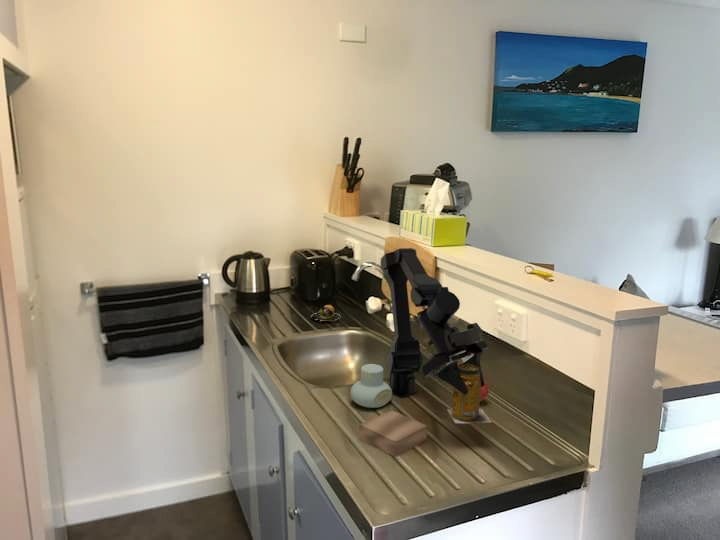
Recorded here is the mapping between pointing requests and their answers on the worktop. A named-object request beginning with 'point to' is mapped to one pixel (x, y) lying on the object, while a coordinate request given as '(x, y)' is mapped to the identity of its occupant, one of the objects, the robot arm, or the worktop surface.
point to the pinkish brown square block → (393, 433)
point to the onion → (484, 391)
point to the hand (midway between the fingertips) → (475, 389)
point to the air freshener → (371, 387)
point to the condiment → (468, 397)
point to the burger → (327, 313)
